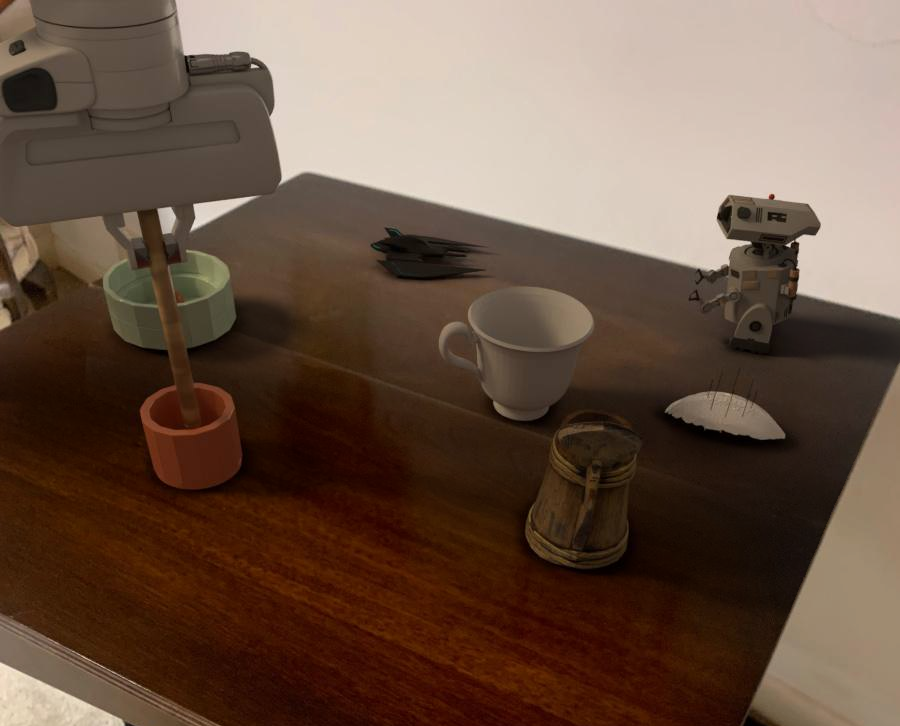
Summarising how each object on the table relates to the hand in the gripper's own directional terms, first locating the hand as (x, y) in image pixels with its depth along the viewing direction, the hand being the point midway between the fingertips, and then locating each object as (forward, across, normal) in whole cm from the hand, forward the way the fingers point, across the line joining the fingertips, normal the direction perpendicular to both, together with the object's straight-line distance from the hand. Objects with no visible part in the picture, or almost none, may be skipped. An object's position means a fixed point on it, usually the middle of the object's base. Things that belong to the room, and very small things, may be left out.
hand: (158, 263), depth 68 cm
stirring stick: (+14, 0, +2) cm, 15 cm away
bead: (+17, -3, -26) cm, 32 cm away
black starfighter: (+19, -36, -31) cm, 52 cm away
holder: (+19, 0, 0) cm, 19 cm away
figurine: (+20, -63, -3) cm, 66 cm away
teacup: (+20, -31, +2) cm, 37 cm away
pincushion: (+20, -50, +13) cm, 55 cm away
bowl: (+19, -3, -26) cm, 32 cm away
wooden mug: (+20, -27, +24) cm, 41 cm away
